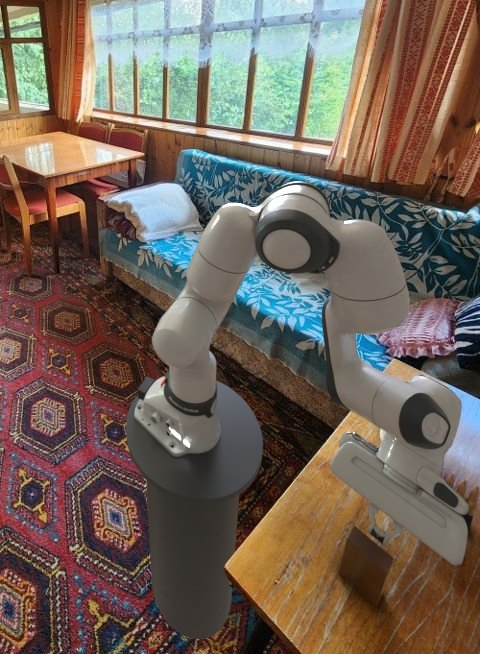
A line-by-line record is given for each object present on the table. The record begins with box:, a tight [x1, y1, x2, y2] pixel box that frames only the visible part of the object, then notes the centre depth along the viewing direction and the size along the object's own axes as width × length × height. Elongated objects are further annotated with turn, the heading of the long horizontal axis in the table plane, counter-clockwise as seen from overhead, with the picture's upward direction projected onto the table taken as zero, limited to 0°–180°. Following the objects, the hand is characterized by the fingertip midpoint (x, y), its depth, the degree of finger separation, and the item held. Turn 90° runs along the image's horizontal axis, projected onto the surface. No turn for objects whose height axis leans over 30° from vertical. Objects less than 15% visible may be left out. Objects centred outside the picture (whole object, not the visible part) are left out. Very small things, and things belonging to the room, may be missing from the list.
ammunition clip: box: [441, 471, 480, 534], centre depth 72 cm, size 11×2×12 cm, turn 51°
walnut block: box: [338, 525, 394, 608], centre depth 63 cm, size 6×3×10 cm, turn 38°
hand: (376, 539), depth 66 cm, fingers closed
